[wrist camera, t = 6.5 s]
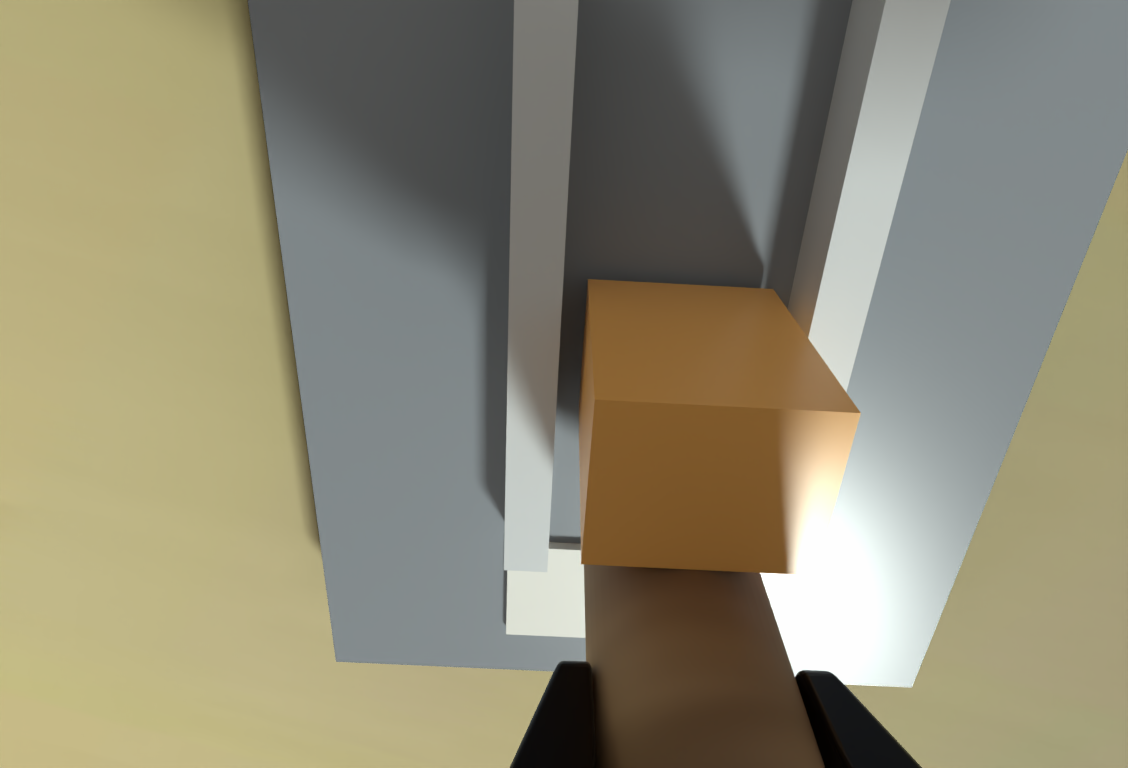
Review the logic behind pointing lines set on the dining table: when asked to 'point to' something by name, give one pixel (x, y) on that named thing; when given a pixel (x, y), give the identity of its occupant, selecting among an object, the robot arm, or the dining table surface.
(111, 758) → the dining table surface
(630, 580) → the dowel
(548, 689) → the robot arm
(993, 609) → the dining table surface
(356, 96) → the panel
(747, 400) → the orange rectangular block
